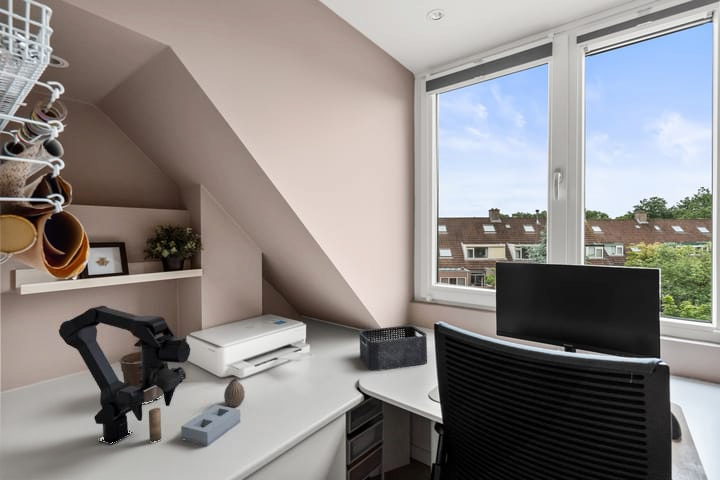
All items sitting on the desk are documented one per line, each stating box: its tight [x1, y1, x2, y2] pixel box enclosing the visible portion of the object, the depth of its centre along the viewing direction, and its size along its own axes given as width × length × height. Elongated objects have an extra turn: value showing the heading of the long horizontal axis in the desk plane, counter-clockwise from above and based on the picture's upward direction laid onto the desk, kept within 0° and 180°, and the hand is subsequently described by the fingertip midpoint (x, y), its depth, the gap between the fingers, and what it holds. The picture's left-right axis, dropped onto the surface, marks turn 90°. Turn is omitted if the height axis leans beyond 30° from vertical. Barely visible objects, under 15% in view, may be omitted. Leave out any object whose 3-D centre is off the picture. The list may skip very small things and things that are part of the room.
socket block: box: [180, 404, 241, 447], centre depth 112 cm, size 10×14×4 cm
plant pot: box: [118, 350, 169, 403], centre depth 135 cm, size 16×16×16 cm
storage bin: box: [358, 324, 428, 371], centre depth 170 cm, size 29×19×13 cm
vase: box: [223, 378, 246, 408], centre depth 129 cm, size 7×7×9 cm
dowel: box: [148, 407, 162, 442], centre depth 107 cm, size 3×3×9 cm
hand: (154, 412), depth 107 cm, fingers open, 9 cm apart
